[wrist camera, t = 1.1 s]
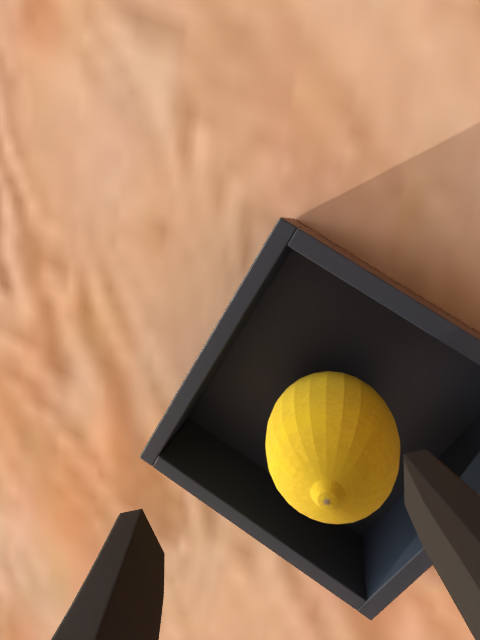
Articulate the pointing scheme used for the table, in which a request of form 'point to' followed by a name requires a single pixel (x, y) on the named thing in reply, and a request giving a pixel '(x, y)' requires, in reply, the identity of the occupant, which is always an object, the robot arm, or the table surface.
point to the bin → (311, 357)
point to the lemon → (332, 447)
